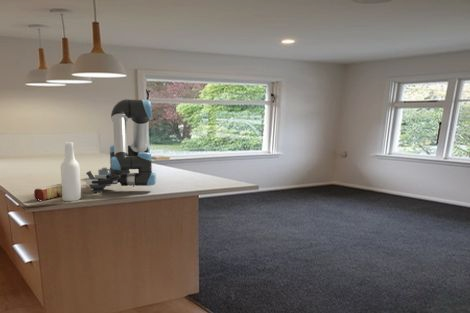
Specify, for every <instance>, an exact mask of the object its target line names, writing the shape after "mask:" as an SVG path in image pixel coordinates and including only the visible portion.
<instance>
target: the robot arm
mask: <svg viewBox="0 0 470 313" xmlns="http://www.w3.org/2000/svg"><path fill="white" fill-rule="evenodd" d="M152 118H153V111H152V102H151V101H150V100H148V99H122V100H120V101H118V102H117V103H116V104H115V105H114V106H113V108H112V110H111V113H110V120H111V122H112V125H113V126H112V127H113V145H111V146H110V147H109V158H110V159H109V164H110V166H109V169H110V172H111V174H109V175H107V176H106V175H99V174H94V177H95V179H90V178H87V179H85V181H86V182H85V183H86V184H85V185H90V184H98V185H107V184H111V185H117V184H118V183H120V186H122V187H128V186H130V187H137V186H138V187H139V186H140V187H141V186H143V187H148V186H149V187H151V186H155V184H156V182H157V174H156V172H153V168H152V166H153V164H152V153H150V145H149V144H147V129H148V128H147V127H148V125H147V124H148V123H149V121H150V119H152ZM128 119H131V122H133V125H132V126H133V127H132V128H133V131H132V142H131V144H130V145H129V144H128V143H129V142H128V131H127V130H128V129H127V128H128V127H127V121H128ZM130 170H138V171H137V172H130ZM96 178H105V179H102V180H99V179H96ZM106 178H107V179H106ZM100 182H101V183H100Z"/></svg>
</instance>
